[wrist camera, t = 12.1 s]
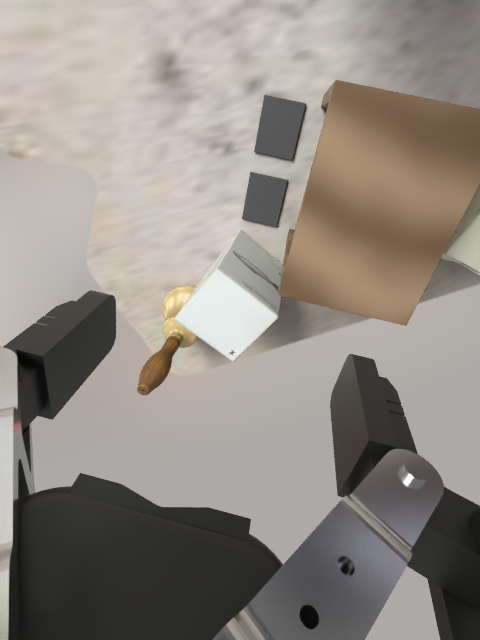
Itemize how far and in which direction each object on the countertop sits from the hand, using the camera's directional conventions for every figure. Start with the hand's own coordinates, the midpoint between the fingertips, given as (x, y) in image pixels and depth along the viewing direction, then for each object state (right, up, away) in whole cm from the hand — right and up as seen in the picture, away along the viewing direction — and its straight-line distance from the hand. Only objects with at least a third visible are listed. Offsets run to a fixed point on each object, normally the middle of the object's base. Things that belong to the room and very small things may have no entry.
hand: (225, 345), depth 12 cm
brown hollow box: (+12, +15, +24) cm, 31 cm away
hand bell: (-6, +2, +36) cm, 36 cm away
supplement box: (+1, +7, +31) cm, 32 cm away
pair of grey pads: (+4, +17, +25) cm, 30 cm away
